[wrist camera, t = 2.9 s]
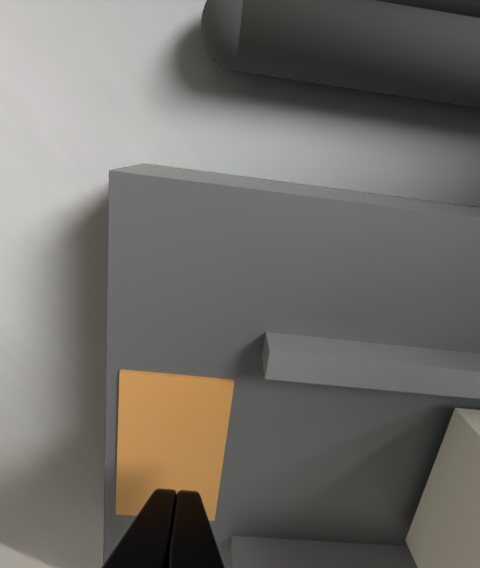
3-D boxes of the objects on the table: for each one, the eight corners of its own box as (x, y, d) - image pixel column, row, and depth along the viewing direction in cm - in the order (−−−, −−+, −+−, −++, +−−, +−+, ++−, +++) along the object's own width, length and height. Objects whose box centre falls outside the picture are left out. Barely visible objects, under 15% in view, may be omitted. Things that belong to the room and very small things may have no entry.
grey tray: (786, 247, 11) (1061, 297, 7) (601, 548, 15) (720, 676, 11) (143, 163, 10) (94, 173, 6) (128, 518, 13) (93, 652, 10)
